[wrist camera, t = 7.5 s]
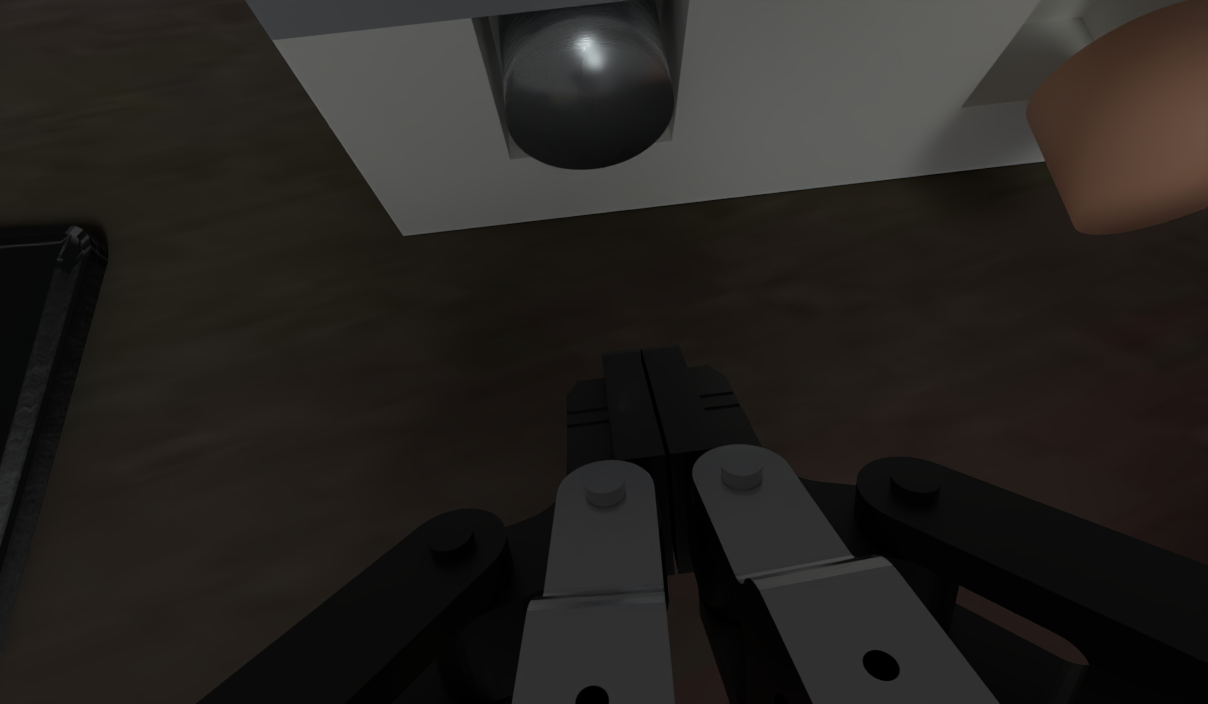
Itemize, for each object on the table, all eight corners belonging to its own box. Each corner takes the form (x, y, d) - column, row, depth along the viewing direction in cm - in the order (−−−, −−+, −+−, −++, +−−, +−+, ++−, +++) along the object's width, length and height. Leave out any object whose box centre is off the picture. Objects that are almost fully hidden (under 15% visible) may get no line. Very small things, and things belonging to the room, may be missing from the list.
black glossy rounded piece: (667, 160, 18) (682, 37, 13) (520, 177, 17) (489, 58, 13) (651, 69, 19) (659, -71, 15) (512, 84, 19) (481, -52, 14)
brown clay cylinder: (1190, 224, 16) (1384, 110, 12) (1035, 243, 16) (1176, 134, 12) (1137, 122, 18) (1298, -14, 13) (992, 139, 17) (1107, 8, 13)
